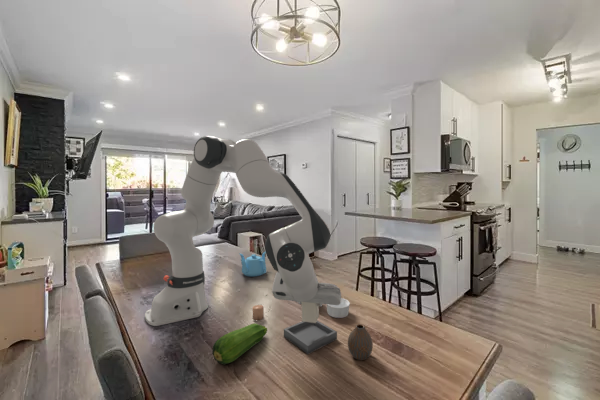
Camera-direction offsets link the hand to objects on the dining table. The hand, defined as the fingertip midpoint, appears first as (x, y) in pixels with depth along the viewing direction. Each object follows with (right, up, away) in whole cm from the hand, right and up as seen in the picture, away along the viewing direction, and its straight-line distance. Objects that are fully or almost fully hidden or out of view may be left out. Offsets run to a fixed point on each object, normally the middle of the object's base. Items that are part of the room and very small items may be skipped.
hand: (310, 302), depth 90 cm
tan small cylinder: (-19, -10, +14) cm, 25 cm away
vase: (+14, -12, -9) cm, 20 cm away
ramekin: (+11, -10, +17) cm, 22 cm away
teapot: (-29, -7, +63) cm, 70 cm away
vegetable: (-20, -12, -6) cm, 24 cm away
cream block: (0, -5, 0) cm, 5 cm away
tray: (0, -11, 0) cm, 11 cm away
